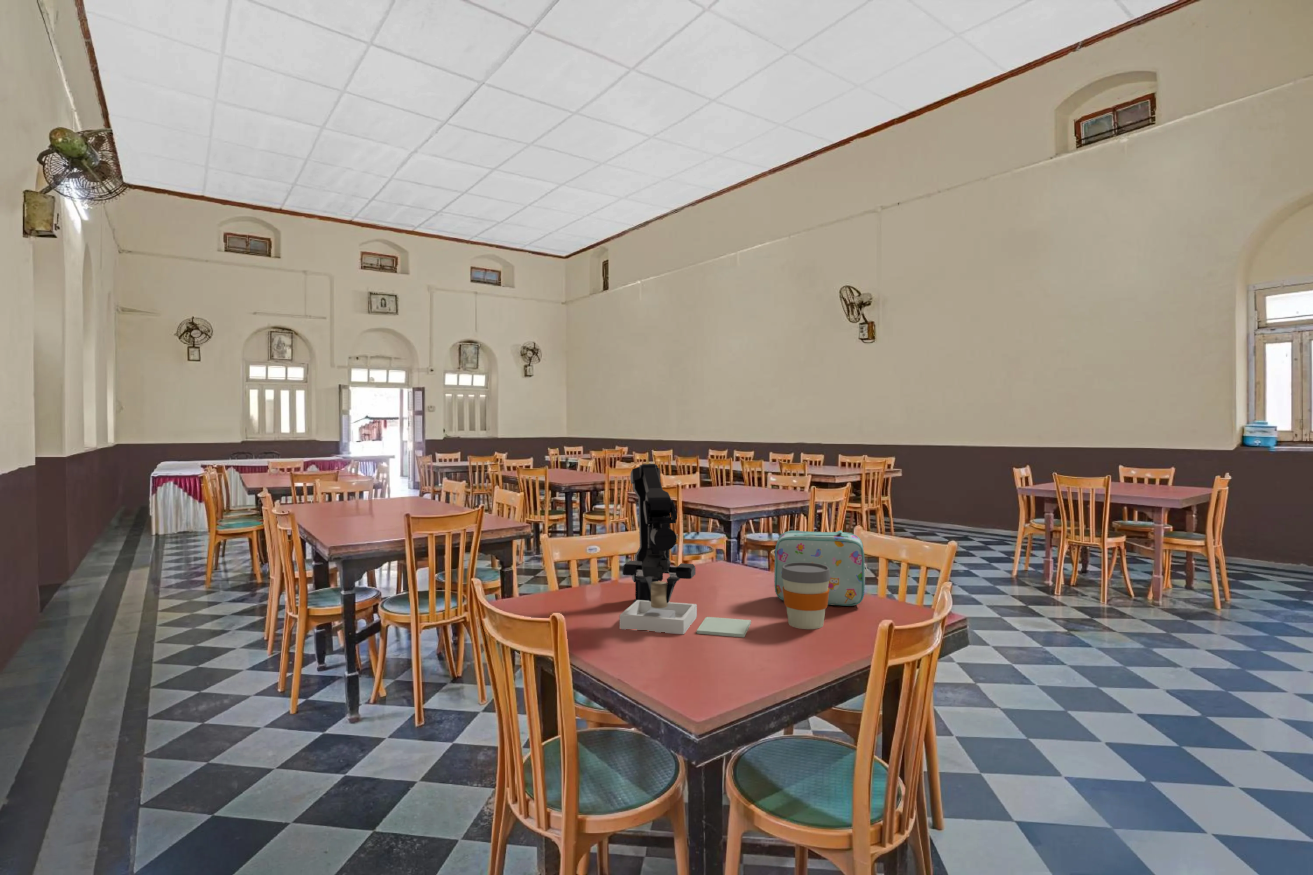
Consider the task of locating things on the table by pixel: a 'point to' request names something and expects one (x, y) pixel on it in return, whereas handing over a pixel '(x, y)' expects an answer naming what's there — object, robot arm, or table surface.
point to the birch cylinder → (659, 594)
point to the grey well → (659, 617)
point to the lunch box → (825, 562)
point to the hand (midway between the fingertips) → (659, 601)
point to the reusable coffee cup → (805, 593)
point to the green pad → (724, 627)
